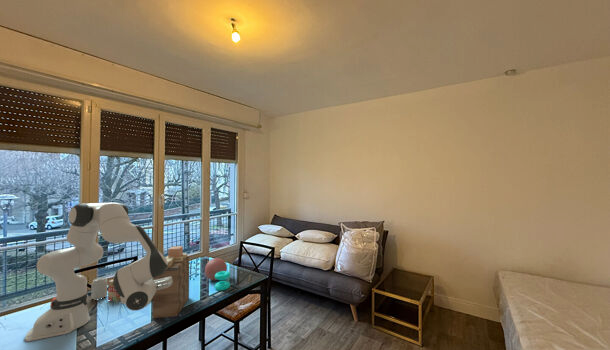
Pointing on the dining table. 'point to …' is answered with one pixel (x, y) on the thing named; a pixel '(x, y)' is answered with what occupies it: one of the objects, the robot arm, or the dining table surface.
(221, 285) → the donuts
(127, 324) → the dining table surface
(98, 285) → the light grey block
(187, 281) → the paper bag
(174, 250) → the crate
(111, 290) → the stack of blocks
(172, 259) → the pallet
